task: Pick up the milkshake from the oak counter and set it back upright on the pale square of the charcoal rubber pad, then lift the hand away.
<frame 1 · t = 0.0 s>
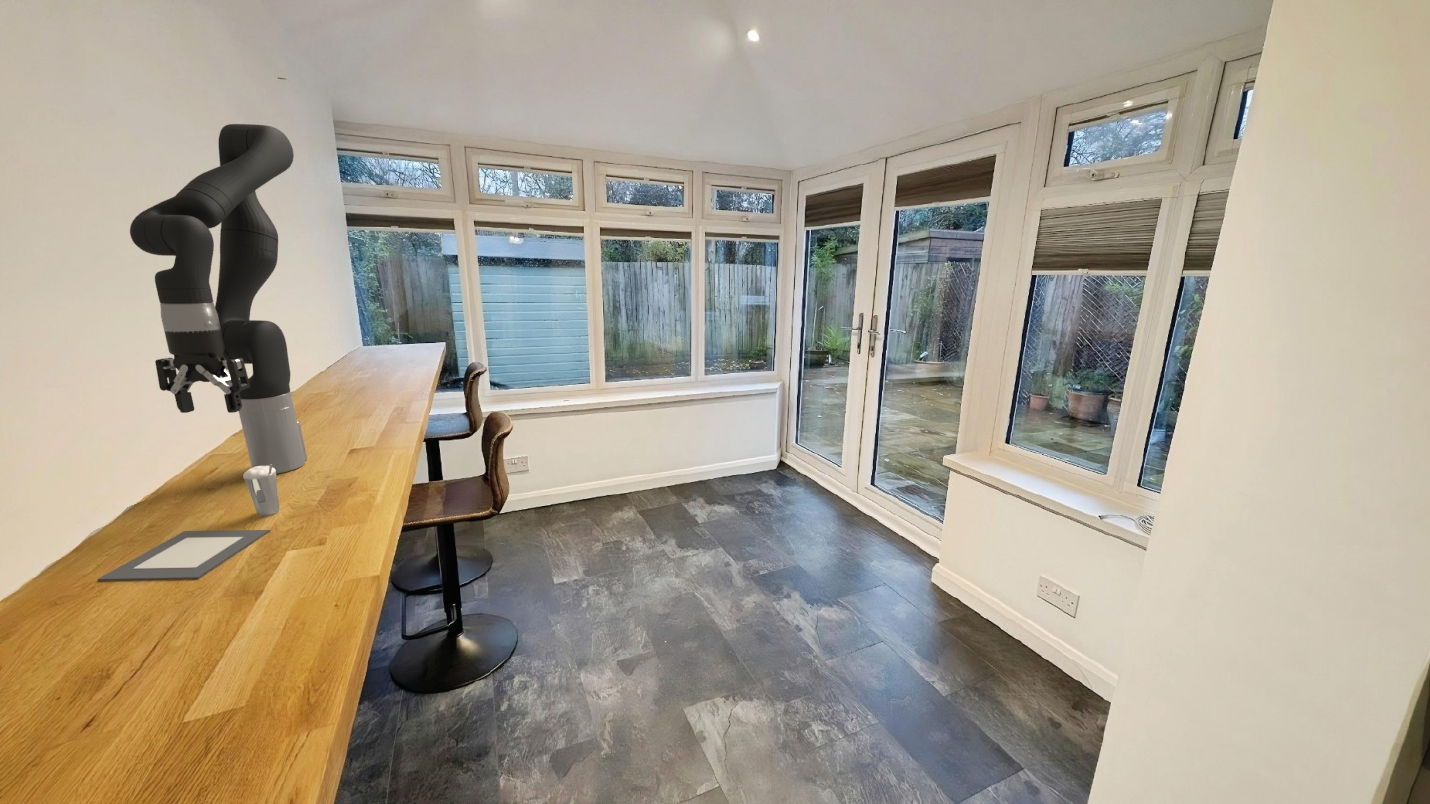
hand: (211, 411, 100), 17 cm above the counter, tool pointing down, fingers open, 8 cm apart
pad: (191, 553, 83), on the counter
milkshake: (270, 513, 97), on the counter
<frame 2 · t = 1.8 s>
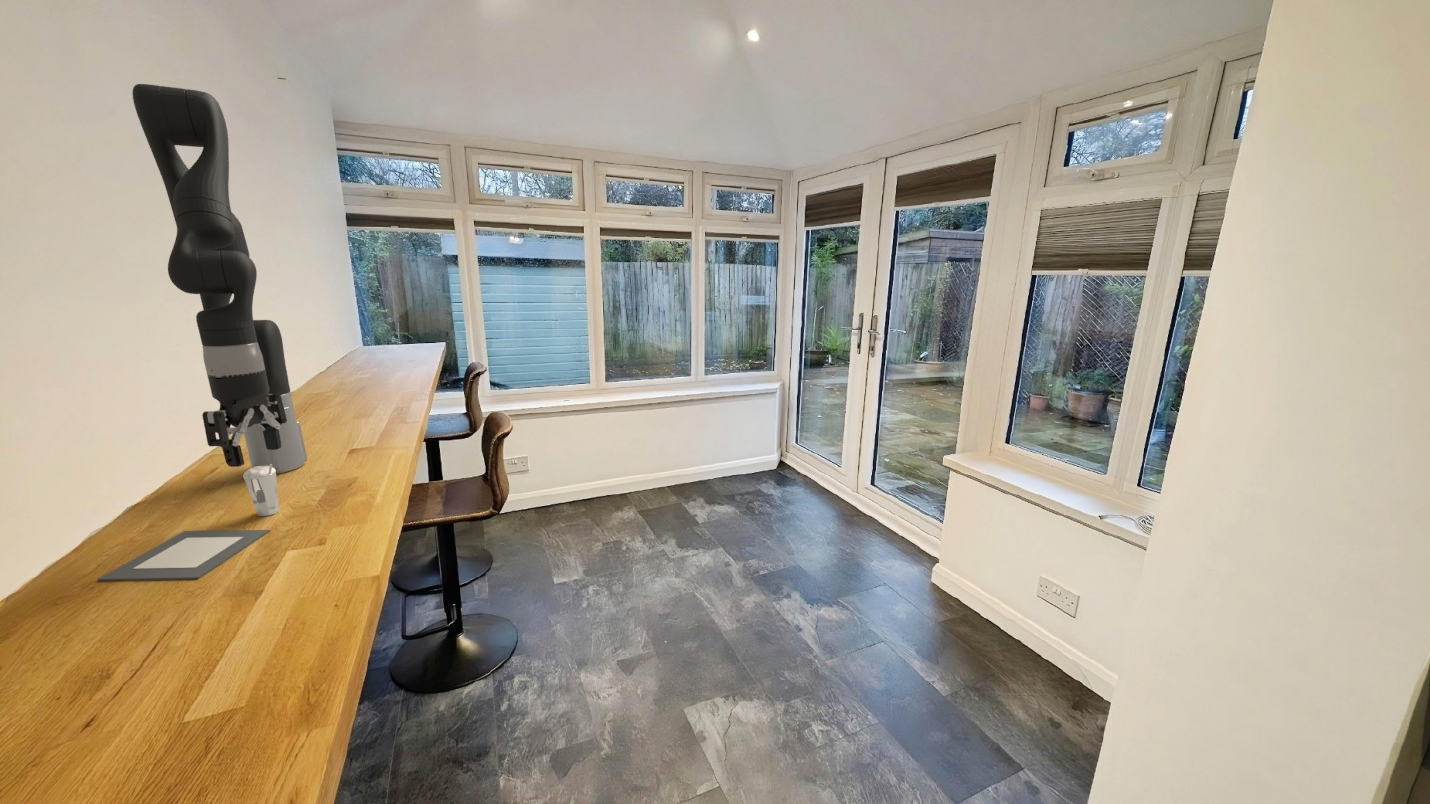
hand: (256, 457, 94), 11 cm above the counter, tool pointing down, fingers open, 8 cm apart
nothing on the counter moved.
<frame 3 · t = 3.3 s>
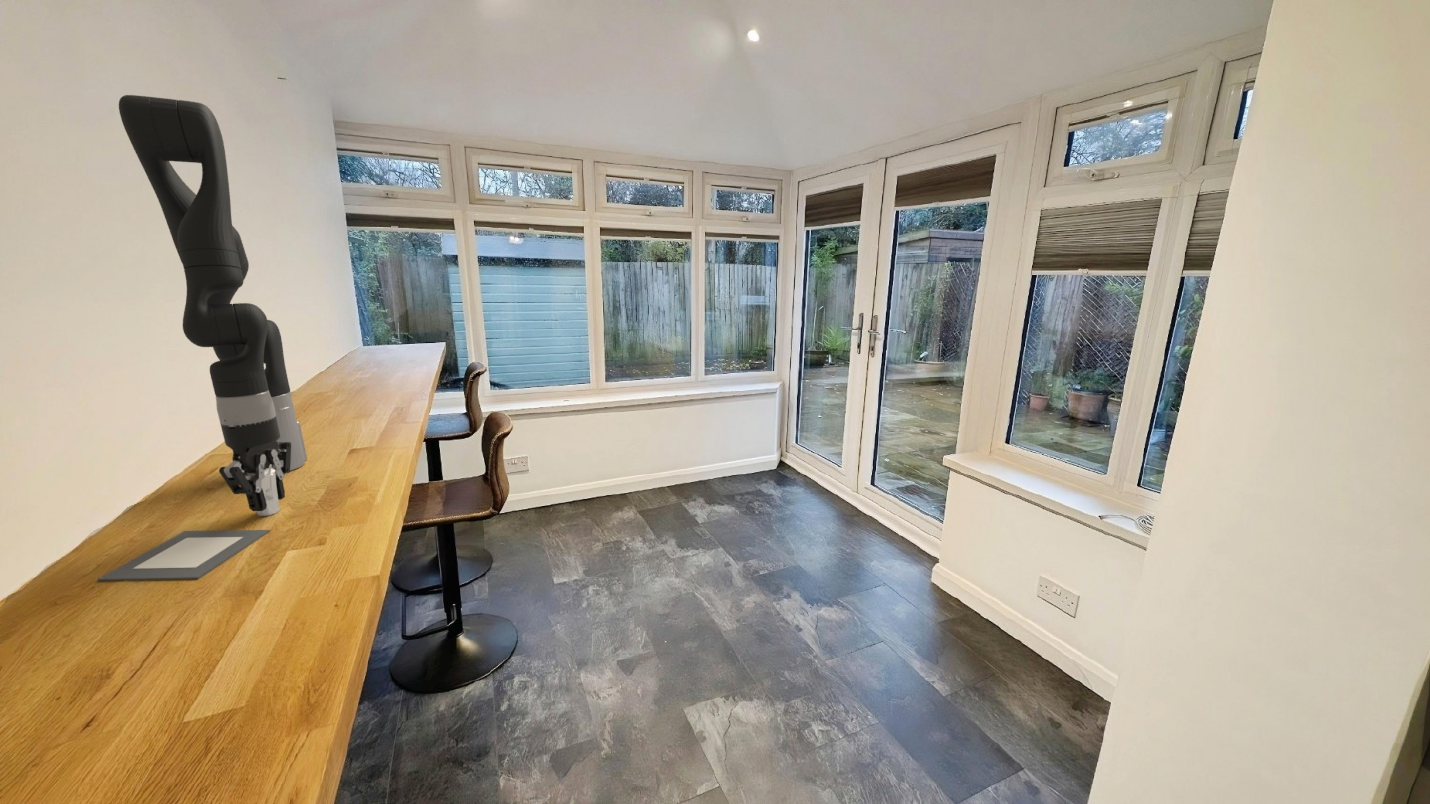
hand: (268, 504, 97), 2 cm above the counter, tool pointing down, fingers closed on milkshake, 4 cm apart
milkshake: (270, 513, 97), on the counter, touching gripper
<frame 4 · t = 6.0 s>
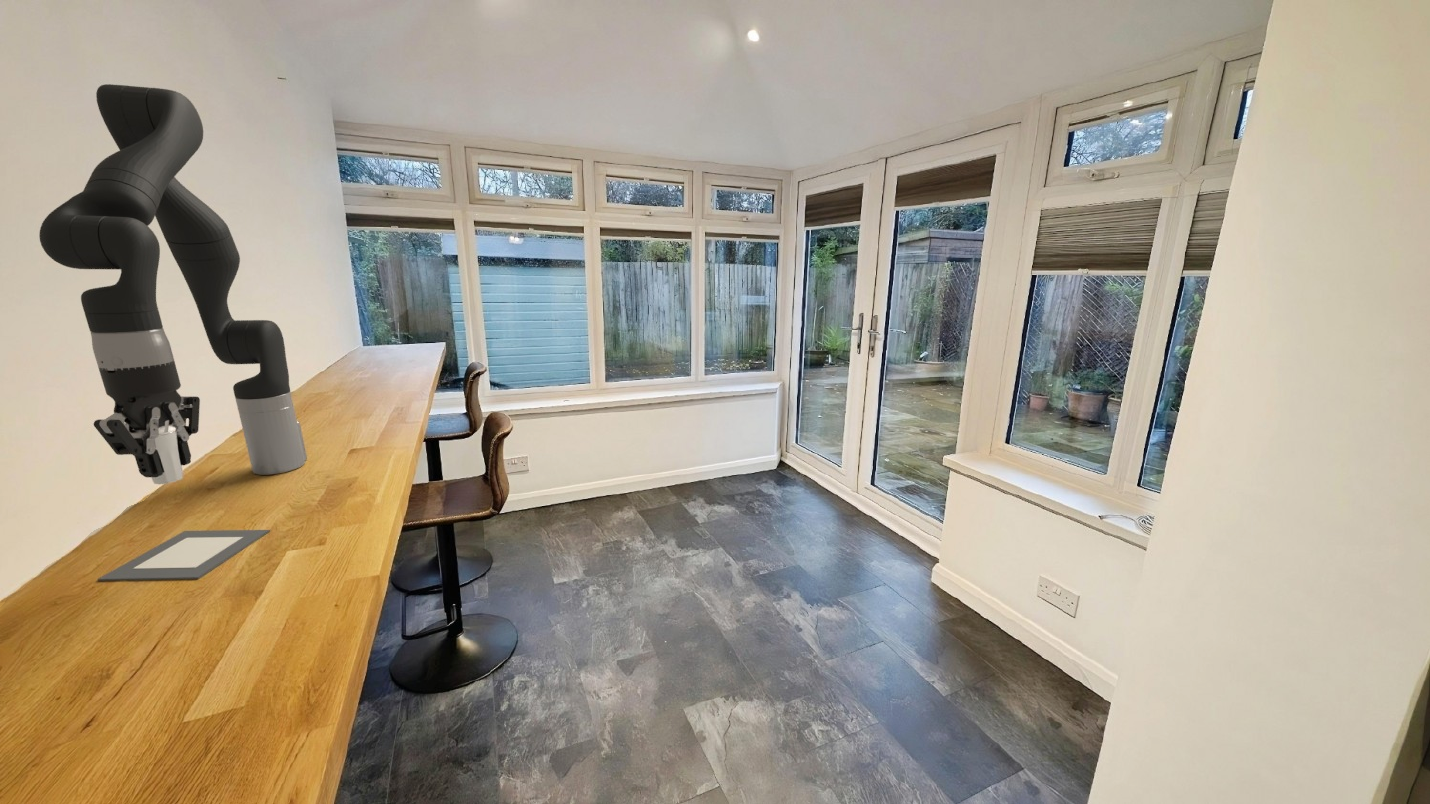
hand: (167, 469, 80), 15 cm above the counter, tool pointing down, fingers closed on milkshake, 4 cm apart
milkshake: (171, 481, 80), point 13 cm above the counter, touching gripper
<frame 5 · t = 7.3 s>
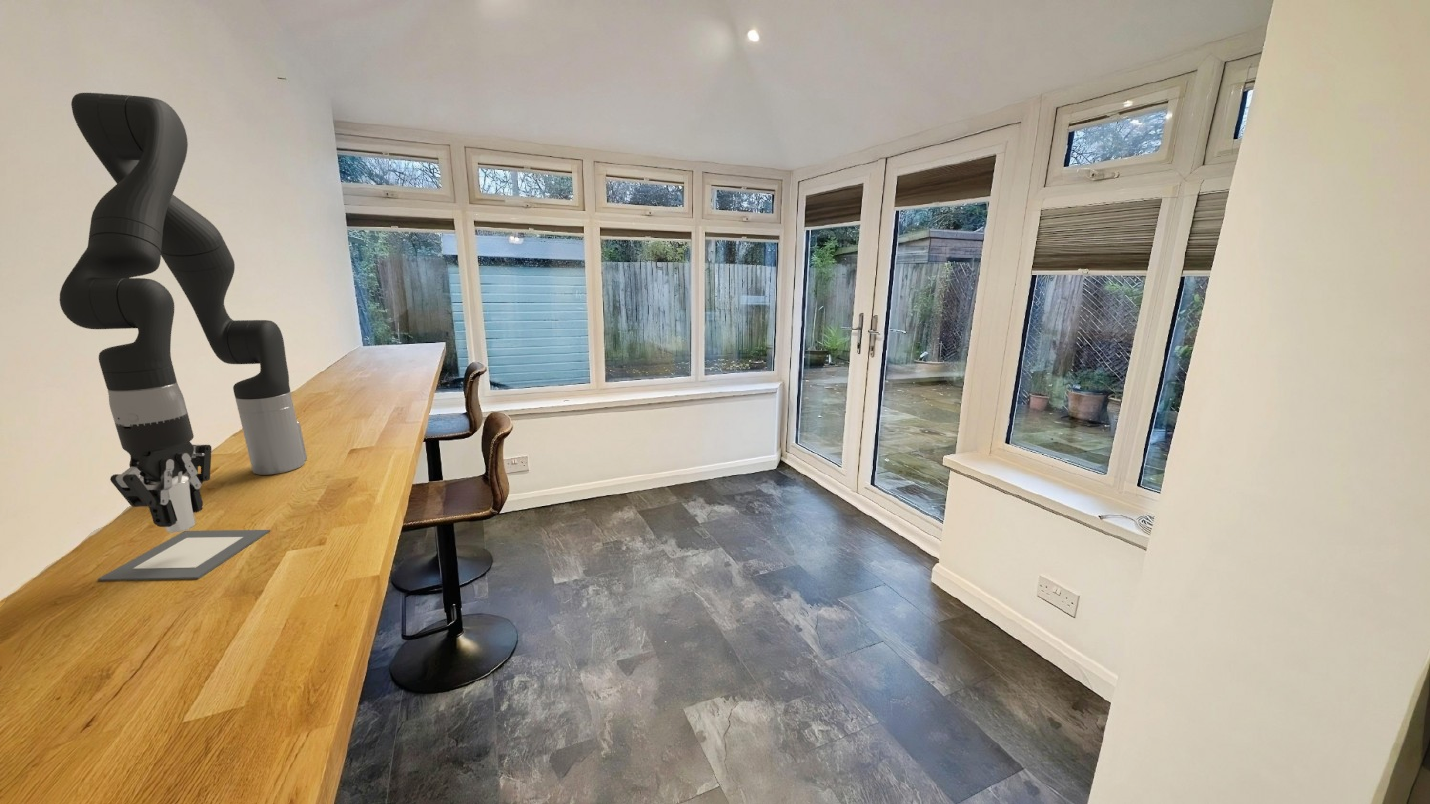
hand: (180, 518, 82), 6 cm above the counter, tool pointing down, fingers closed on milkshake, 4 cm apart
milkshake: (184, 529, 82), point 5 cm above the counter, touching gripper
when the fingers open (3 cm above the counter, at t = 8.7 s): milkshake drops 1 cm, resting on pad.
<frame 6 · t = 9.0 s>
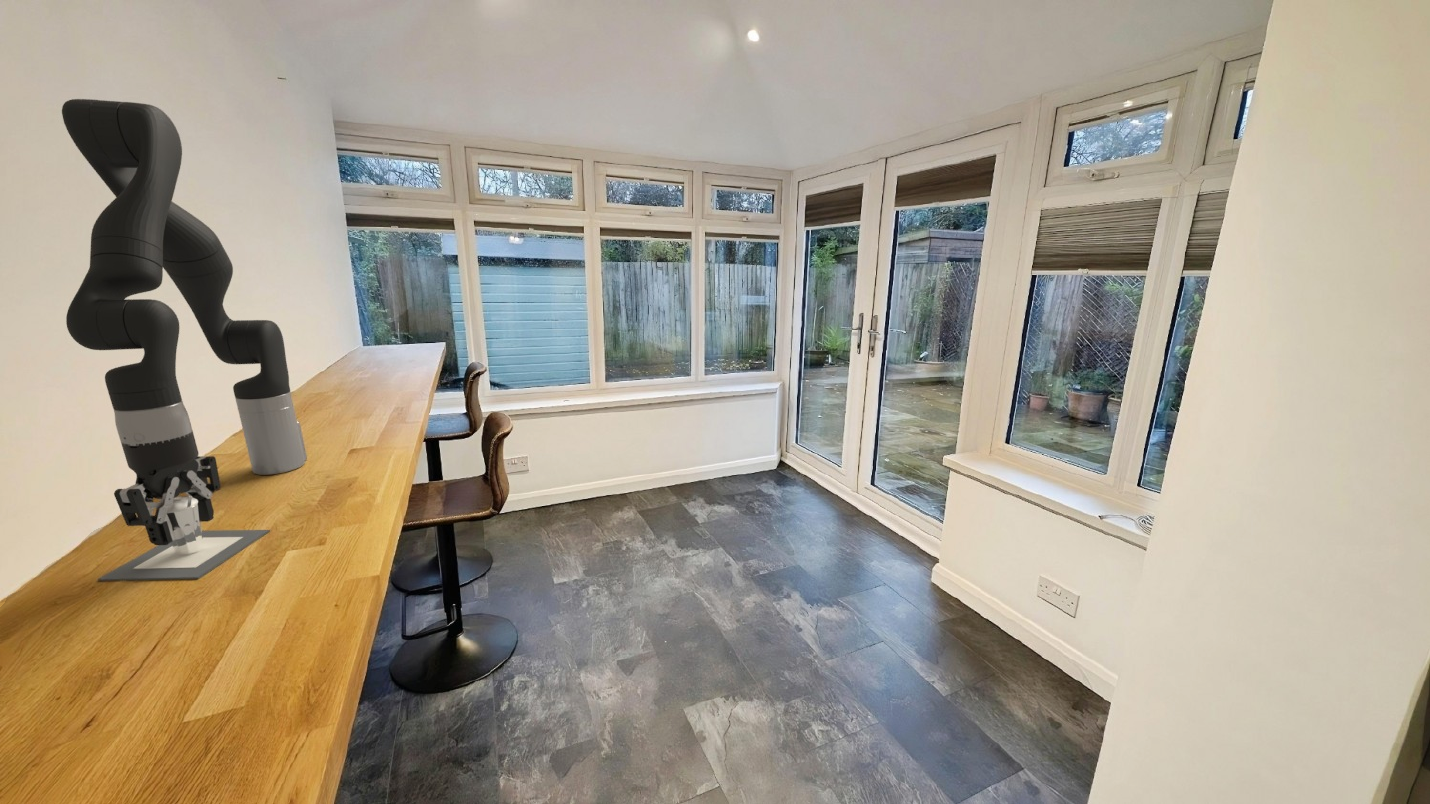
hand: (185, 531, 82), 4 cm above the counter, tool pointing down, fingers open, 6 cm apart
milkshake: (192, 551, 84), resting on pad
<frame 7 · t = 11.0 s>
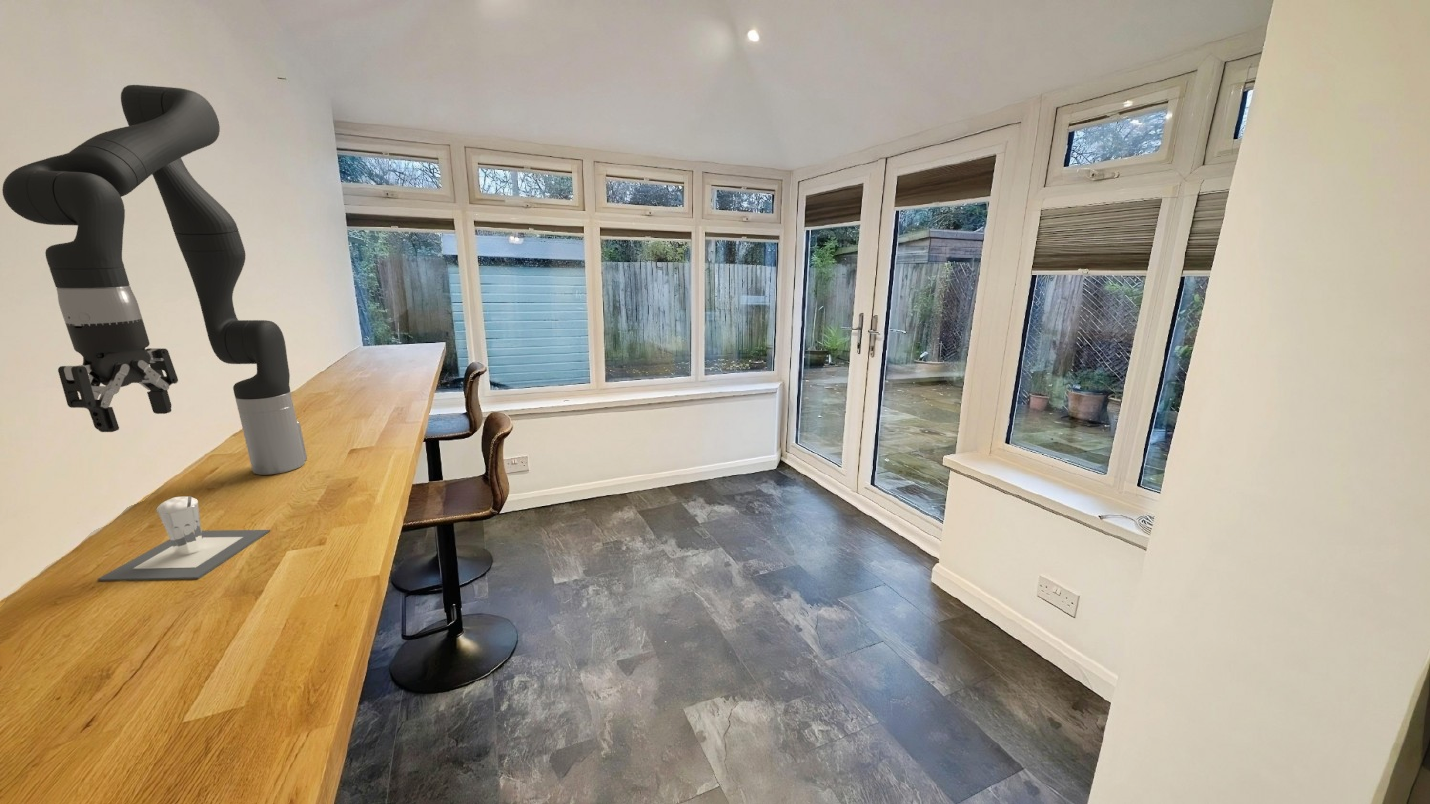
hand: (137, 421, 81), 21 cm above the counter, tool pointing down, fingers open, 8 cm apart
nothing on the counter moved.
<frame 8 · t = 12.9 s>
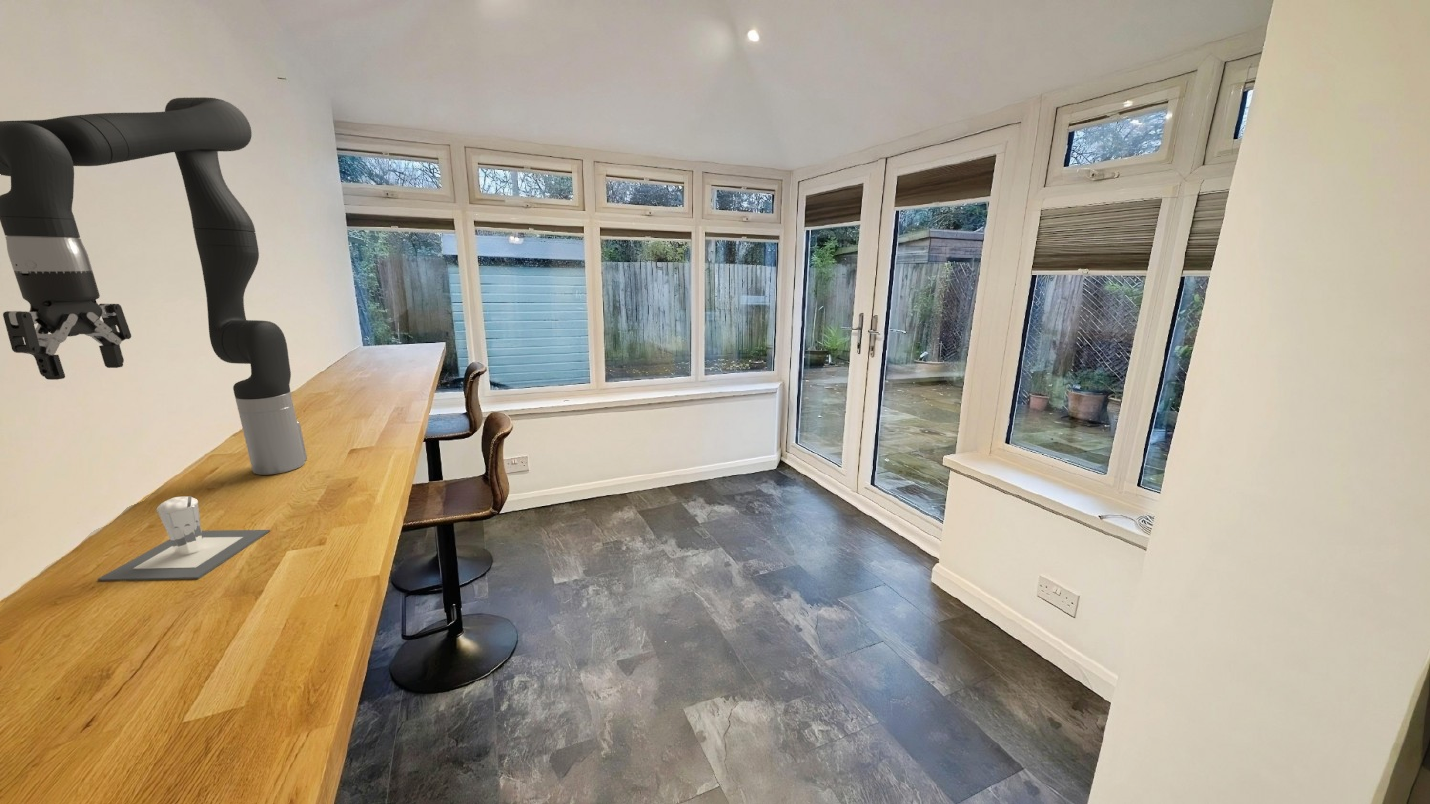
hand: (86, 372, 83), 28 cm above the counter, tool pointing down, fingers open, 8 cm apart
nothing on the counter moved.
at the end: milkshake inside the target area on the pad (0.3 cm from its centre), point 0.2 cm above the pad's base; milkshake tilted 0°; the gripper is holding nothing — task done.
